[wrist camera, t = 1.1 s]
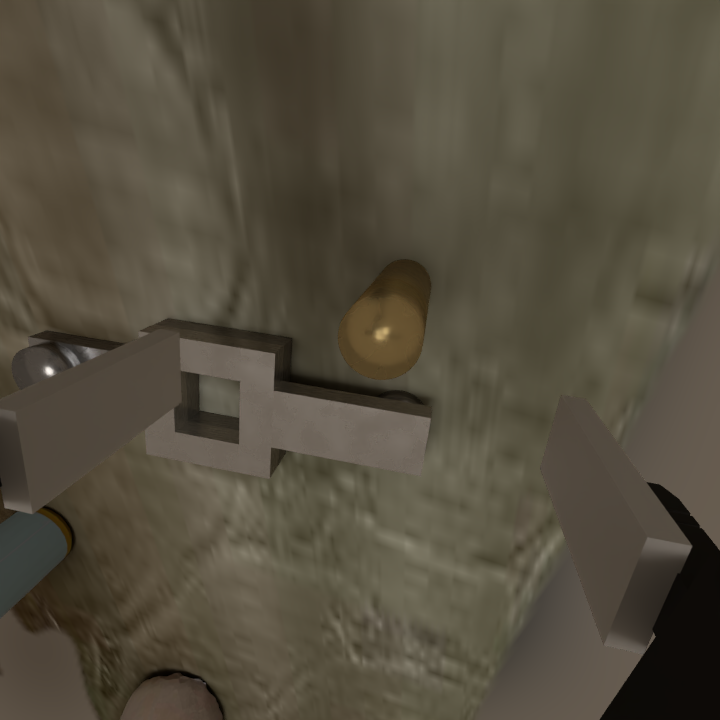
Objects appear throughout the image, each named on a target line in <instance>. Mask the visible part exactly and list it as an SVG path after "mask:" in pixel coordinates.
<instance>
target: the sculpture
mask: <svg viewBox="0 0 720 720" xmlns="http://www.w3.org/2000/svg"><path fill="white" fill-rule="evenodd" d="M120 720H223V715H222V713H221V711H220V709H219V705H218V703H217V702H216V698H215V697H214V696H213V695H212V694H210V693H209V691H208V690H207V688H206V683H204V682H202V681H201V680H200V679H192V678H189V677H186V676H183V675H182V674H181V673H174V674H172V675H169V676H157V677H153V678H151V679H147V680H145V681H144V682H143V683H142V684H141V685H140V686H139V687H138V688H137V689H136V690H135V692H134V693H133V694H132V696H131V697H130V699H129V701H128V703H127V704H126V707H125V709H124V712H123V714H122V716H121V719H120Z"/></svg>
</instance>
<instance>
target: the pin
mask: <svg viewBox="0 0 720 720" xmlns="http://www.w3.org/2000/svg"><path fill="white" fill-rule="evenodd" d="M430 293H431V279H430V276H429V274H428V272H427V271H426V269H425V268H424V267H423V266H422V265H420V264H419V263H417V262H415V261H412V260H406V259H403V260H397V261H394V262H392V263H391V264H389V265H388V266H387V267H386V268H385V269H384V270H383V271H382V272H381V273H380V275H379V276H378V277H377V278H376V279H375V280H374V282H373V283H372V284H371V285H370V286H369V287H368V288H367V290H366V291H365V292H364V293H363V294H362V295H361V297H360V298H359V299H358V300H357V301H356V302H355V304H354V305H353V306H352V307H351V308H350V309H349V311H348V312H347V313H346V314H345V316H344V317H343V319H342V321H341V323H340V326H339V331H338V344H339V348H340V351H341V354H342V356H343V357H344V359H345V361H346V362H347V363H348V364H349V366H350V367H351V368H353V369H354V370H355V371H356V372H358V373H359V374H361V375H363V376H366V377H368V378H372V379H378V380H386V379H392V378H396V377H398V376H401V375H402V374H404V373H406V372H407V371H408V370H410V369H411V368H412V367H413V366H414V364H415V363H416V362H417V360H418V358H419V356H420V354H421V351H422V346H423V340H424V333H425V326H426V320H427V313H428V306H429V300H430Z"/></svg>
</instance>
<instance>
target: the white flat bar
mask: <svg viewBox="0 0 720 720" xmlns="http://www.w3.org/2000/svg"><path fill="white" fill-rule="evenodd" d="M158 329H163V330H169V331H175V332H180V365H181V399H182V402H181V403H180V404H178V405H177V406H176V407H174V408H173V409H172V410H170V411H169V412H168V413H166V414H165V415H164V416H162V417H161V418H160V419H158V420H157V421H156V422H154V423H153V424H152V425H150V426H149V427H148V428H146V429H145V437H146V452H147V454H149V455H154V456H159V457H164V458H169V459H174V460H179V461H184V462H189V463H194V464H199V465H203V466H208V467H213V468H218V469H223V470H228V471H233V472H238V473H243V474H248V475H253V476H258V477H263V478H268V479H270V478H271V476H272V474H273V473H274V471H275V470H276V468H277V466H278V465H279V463H280V462H281V460H282V458H283V457H284V455H285V454H286V450H287V451H292V452H298V453H303V454H308V455H313V456H318V457H324V458H329V459H334V460H339V461H344V462H350V463H355V464H360V465H365V466H370V467H376V468H381V469H386V470H391V471H396V472H401V473H407V474H412V475H417V476H421V471H422V466H423V460H424V455H425V449H426V444H427V438H428V433H429V427H430V422H431V413H432V407H431V406H425V405H423V403H422V402H421V401H420V400H419V399H418V398H417V397H415V396H414V395H412V394H410V393H407V392H404V391H389V392H385V393H383V394H381V395H379V396H378V397H373V396H367V395H361V394H356V393H350V392H344V391H338V390H332V389H327V388H321V387H315V386H309V385H303V384H298V383H292V382H290V367H291V349H292V338H287V337H281V336H275V335H268V334H262V333H256V332H250V331H243V330H237V329H231V328H225V327H218V326H212V325H206V324H200V323H193V322H187V321H181V320H175V319H165V320H163V321H161V322H158V323H156V324H154V325H151V326H149V327H147V328H144V329H142V330H140V331H138V333H139V338H140V337H142V336H145V335H147V334H149V333H152V332H154V331H156V330H158ZM28 341H29V347H28V348H25V349H22V350H20V351H19V352H18V353H16V355H15V356H14V358H13V361H12V373H13V377H14V379H15V382H16V383H17V385H18V387H19V388H20V389H21V390H22V389H24V388H27V387H29V386H31V385H33V384H36V383H38V382H40V381H42V380H45V379H47V378H49V377H52V376H54V375H56V374H58V373H61V372H63V371H65V370H67V369H70V368H72V367H74V366H77V365H79V364H81V363H83V362H86V361H88V360H90V359H92V358H95V357H97V356H99V355H102V354H104V353H106V352H108V351H111V350H113V349H115V348H117V347H120V346H122V345H124V344H122V343H116V342H110V341H104V340H99V339H93V338H87V337H81V336H75V335H69V334H63V333H57V332H51V331H44V332H41V333H38V334H35V335H32V336H29V337H28ZM199 374H202V375H208V376H213V377H219V378H225V379H231V380H236V381H240V417H239V418H234V417H229V416H224V415H218V414H213V413H207V412H202V411H199Z"/></svg>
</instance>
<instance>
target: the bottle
mask: <svg viewBox="0 0 720 720" xmlns="http://www.w3.org/2000/svg"><path fill="white" fill-rule="evenodd" d="M71 545H72V534H71V531H70V528H69V527H68V525H67V523H66V522H65V521H64V520H63V519H62V518H61V517H60V516H59V515H58V514H56V513H55V512H53V511H52V510H49V509H46V508H43V507H42V508H40V509H39V510H38V511H36V512H35V513H34V514H29V513H25V512H21V511H18V512H16V513H15V514H14V515H12V516H11V517H9V518H8V519H7V520H5V521H4V522H3V523H1V524H0V618H1V617H3V615H5V614H6V613H7V612H8V611H9V610H10V609H11V608H12V607H13V606H14V605H15V604H16V603H17V602H18V601H19V600H21V599H22V598H23V597H24V596H25V595H26V594H27V593H28V592H29V591H30V590H31V589H32V588H33V587H34V586H35V585H36V584H37V583H39V582H40V581H41V580H42V579H43V578H44V577H45V576H46V575H47V574H48V573H49V572H50V571H51V570H52V569H53V568H54V567H56V566H57V565H58V564H59V563H60V562H61V561H62V560H63V559H64V558H65V557H66V556H67V555H68V554H69V552H70V550H71Z"/></svg>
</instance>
